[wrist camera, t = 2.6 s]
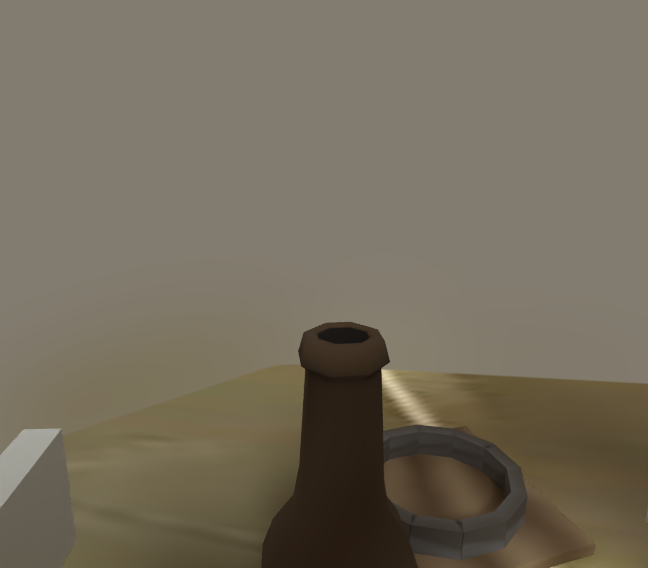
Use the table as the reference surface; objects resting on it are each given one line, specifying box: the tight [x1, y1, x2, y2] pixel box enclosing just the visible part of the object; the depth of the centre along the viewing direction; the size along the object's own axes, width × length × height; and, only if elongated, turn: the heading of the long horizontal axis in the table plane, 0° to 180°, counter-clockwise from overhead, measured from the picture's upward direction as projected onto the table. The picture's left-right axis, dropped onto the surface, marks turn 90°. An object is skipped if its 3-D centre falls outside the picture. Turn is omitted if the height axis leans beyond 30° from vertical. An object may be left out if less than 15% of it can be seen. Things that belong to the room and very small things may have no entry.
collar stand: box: [383, 425, 596, 568], centre depth 47 cm, size 18×18×4 cm
